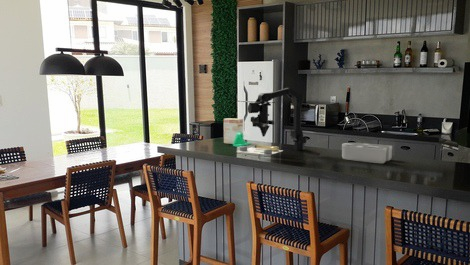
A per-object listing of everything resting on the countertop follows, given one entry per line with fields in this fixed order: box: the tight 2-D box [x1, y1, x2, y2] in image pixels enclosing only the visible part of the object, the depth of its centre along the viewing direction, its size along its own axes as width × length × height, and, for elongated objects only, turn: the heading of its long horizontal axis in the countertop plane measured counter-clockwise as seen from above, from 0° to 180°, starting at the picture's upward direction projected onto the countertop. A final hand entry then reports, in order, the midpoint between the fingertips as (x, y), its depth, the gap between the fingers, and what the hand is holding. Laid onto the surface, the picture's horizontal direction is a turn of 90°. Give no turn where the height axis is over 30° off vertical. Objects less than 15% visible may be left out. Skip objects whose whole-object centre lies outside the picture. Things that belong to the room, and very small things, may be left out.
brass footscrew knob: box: [253, 144, 280, 151], centre depth 275 cm, size 18×6×3 cm, turn 56°
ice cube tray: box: [341, 142, 393, 165], centre depth 248 cm, size 17×28×9 cm, turn 52°
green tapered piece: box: [232, 132, 252, 148], centre depth 300 cm, size 12×8×10 cm, turn 138°
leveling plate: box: [235, 145, 283, 158], centre depth 272 cm, size 26×19×4 cm
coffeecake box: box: [223, 117, 244, 145], centre depth 316 cm, size 15×7×20 cm, turn 46°
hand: (263, 136), depth 265 cm, fingers closed
